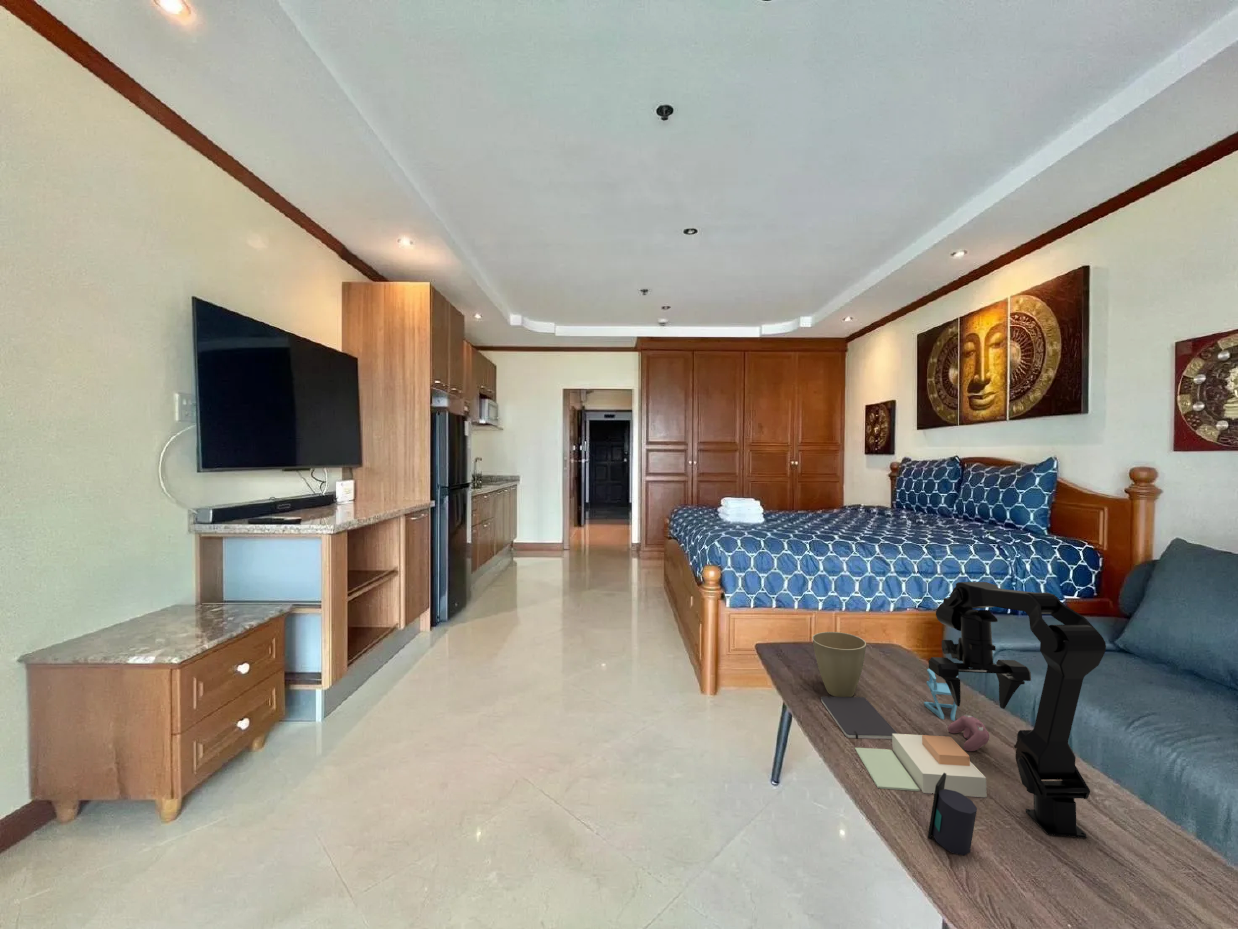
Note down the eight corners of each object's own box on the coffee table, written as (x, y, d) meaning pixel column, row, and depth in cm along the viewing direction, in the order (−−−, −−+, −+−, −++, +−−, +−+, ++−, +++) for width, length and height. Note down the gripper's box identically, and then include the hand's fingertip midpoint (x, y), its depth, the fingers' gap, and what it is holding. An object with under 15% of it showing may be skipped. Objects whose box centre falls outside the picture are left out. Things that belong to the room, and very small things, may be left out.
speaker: (915, 830, 92) (921, 777, 92) (936, 823, 95) (942, 771, 94) (957, 864, 85) (963, 806, 85) (978, 855, 88) (985, 799, 87)
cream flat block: (986, 797, 102) (986, 777, 102) (923, 793, 103) (922, 773, 103) (946, 753, 117) (946, 736, 118) (892, 750, 119) (892, 733, 119)
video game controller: (983, 760, 117) (997, 734, 117) (963, 750, 118) (977, 724, 118) (962, 738, 127) (975, 714, 126) (944, 729, 128) (957, 705, 127)
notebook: (899, 741, 124) (864, 702, 145) (899, 735, 124) (864, 697, 145) (847, 740, 125) (819, 701, 146) (846, 734, 125) (819, 696, 146)
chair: (931, 718, 134) (930, 674, 134) (923, 704, 142) (922, 662, 142) (965, 722, 132) (964, 677, 132) (955, 708, 140) (954, 665, 140)
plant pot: (875, 705, 142) (874, 649, 142) (821, 704, 144) (819, 649, 144) (857, 681, 157) (856, 631, 156) (808, 680, 159) (807, 631, 158)
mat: (919, 791, 104) (919, 789, 104) (877, 788, 105) (877, 786, 105) (891, 751, 119) (891, 749, 119) (854, 749, 120) (854, 747, 120)
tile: (969, 766, 106) (969, 756, 106) (939, 764, 107) (939, 754, 107) (950, 745, 114) (950, 736, 114) (922, 743, 115) (922, 735, 115)
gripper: (1000, 628, 120) (1004, 694, 120) (917, 626, 123) (920, 690, 123) (1030, 642, 109) (1034, 715, 109) (938, 640, 112) (941, 710, 112)
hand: (979, 706), depth 113 cm, fingers open, 9 cm apart
